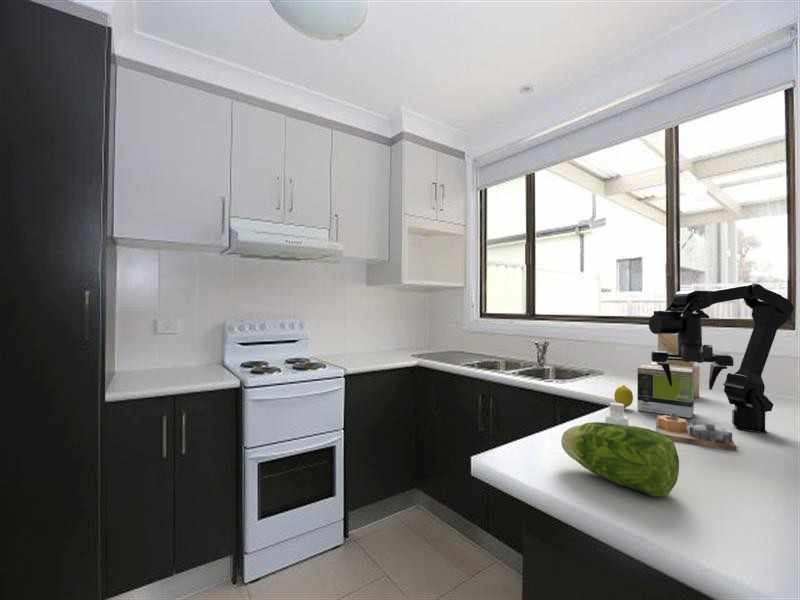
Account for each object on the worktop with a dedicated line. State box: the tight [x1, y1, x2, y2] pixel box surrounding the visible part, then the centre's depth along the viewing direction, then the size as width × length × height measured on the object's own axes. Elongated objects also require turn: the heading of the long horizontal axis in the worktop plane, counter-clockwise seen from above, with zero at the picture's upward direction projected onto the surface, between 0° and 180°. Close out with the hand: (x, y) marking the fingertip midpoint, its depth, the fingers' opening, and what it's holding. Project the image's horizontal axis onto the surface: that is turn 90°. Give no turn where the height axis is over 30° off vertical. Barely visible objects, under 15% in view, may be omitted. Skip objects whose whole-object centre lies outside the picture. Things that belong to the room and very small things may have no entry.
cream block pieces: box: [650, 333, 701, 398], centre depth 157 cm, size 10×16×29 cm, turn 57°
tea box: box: [636, 364, 695, 419], centre depth 131 cm, size 15×10×15 cm
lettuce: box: [560, 421, 680, 498], centre depth 77 cm, size 12×21×11 cm, turn 41°
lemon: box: [613, 384, 634, 409], centre depth 134 cm, size 6×6×8 cm
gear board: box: [655, 412, 738, 452], centre depth 105 cm, size 16×13×5 cm
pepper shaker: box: [604, 402, 629, 426], centre depth 100 cm, size 4×4×10 cm
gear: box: [656, 414, 688, 431], centre depth 109 cm, size 7×7×2 cm
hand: (690, 387), depth 113 cm, fingers open, 9 cm apart
